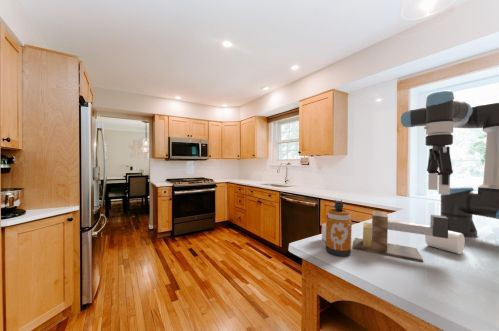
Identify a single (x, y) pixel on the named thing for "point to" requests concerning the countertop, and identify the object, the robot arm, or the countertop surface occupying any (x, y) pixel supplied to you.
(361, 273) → the countertop surface
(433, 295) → the countertop surface
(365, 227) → the block
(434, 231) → the shaft
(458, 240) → the white rounded block
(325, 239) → the medicine bottle
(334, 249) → the canister
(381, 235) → the bracket
